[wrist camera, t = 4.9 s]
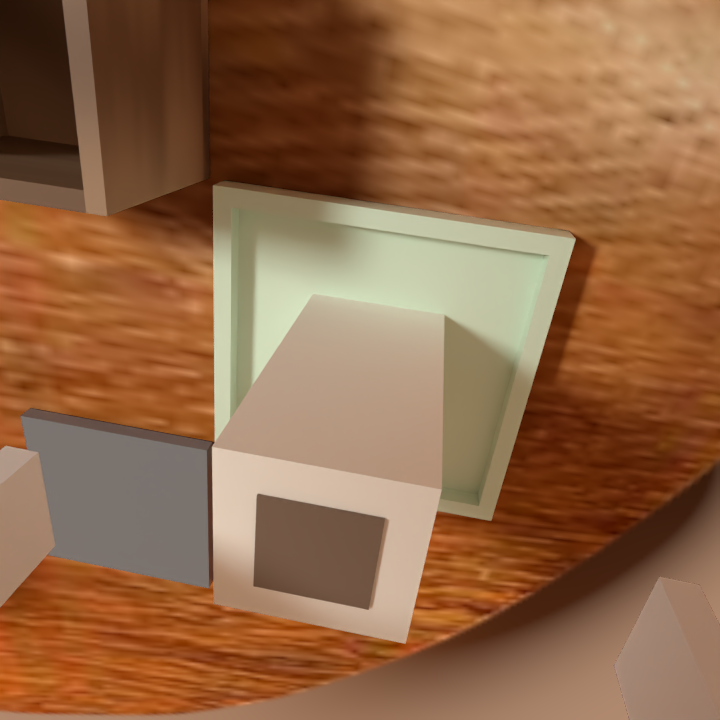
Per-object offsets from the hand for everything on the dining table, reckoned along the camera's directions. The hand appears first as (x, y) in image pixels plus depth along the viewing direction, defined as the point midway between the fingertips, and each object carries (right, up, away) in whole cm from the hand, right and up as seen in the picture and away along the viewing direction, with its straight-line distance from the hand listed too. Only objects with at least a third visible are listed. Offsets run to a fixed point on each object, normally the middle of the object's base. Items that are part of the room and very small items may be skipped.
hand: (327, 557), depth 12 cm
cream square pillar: (+1, +4, +8) cm, 9 cm away
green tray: (+1, +4, +8) cm, 9 cm away
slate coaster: (-10, -2, +13) cm, 16 cm away
